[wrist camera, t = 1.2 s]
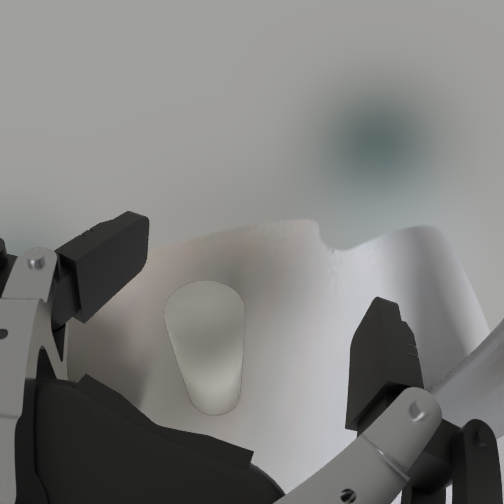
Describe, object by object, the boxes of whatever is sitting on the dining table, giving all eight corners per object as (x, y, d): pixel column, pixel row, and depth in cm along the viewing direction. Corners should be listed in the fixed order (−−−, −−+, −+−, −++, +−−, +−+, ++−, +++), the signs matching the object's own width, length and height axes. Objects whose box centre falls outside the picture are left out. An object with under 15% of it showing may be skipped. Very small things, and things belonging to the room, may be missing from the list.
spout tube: (249, 385, 29) (259, 300, 19) (223, 424, 25) (217, 361, 16) (206, 362, 30) (194, 270, 21) (179, 399, 27) (147, 320, 17)
